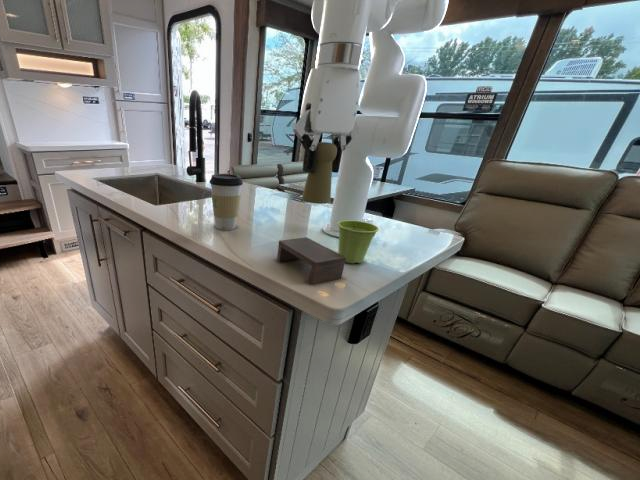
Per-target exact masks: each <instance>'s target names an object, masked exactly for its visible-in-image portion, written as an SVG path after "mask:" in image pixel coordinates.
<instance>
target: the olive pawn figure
mask: <svg viewBox="0 0 640 480" xmlns="http://www.w3.org/2000/svg"><path fill="white" fill-rule="evenodd" d="M315 151H318V155H317V161H316V168H315V172H314V173H308V172H307V176H306V179H305V180H306V181H305V185H304V187H303V188H304V189H303V190H302V191H303V192H302V196H301V201H303V202H306V203H310V204H318V205H321V204H322V205H323V204H325V205H326V204H330V203H331V196H332V177H333V172H332V161H333V160H334V159H335V157H336V155H337V147H336V145H334V144H332V142H326V141H320V142H319V141H318V144H317V146H316V149H315Z"/></svg>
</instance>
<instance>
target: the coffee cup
mask: <svg viewBox="0 0 640 480" xmlns="http://www.w3.org/2000/svg"><path fill="white" fill-rule="evenodd" d="M209 184H210V190H211V192H210V193H211V194H210V195H211V201H212V202H211V203H212V213H213V217H214V224H215V225H214V226H215V229H218V230H223V231H231V230H234V229H236V225H237V218H238V213H239V208H240V200H241V195H242V194H241V192H242V191H241V190H242V185H243V184H244V182H243V180H242V176H241V175H239V174H232V173H215V174H212V175H211V177H210V179H209Z"/></svg>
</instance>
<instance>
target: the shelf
mask: <svg viewBox="0 0 640 480" xmlns="http://www.w3.org/2000/svg"><path fill="white" fill-rule="evenodd" d="M276 256H277V257H276V261H277V262H279V263H281V262H288V261H294V260H295V261H296V260H301V261H303V262H304V263H305V264H308V265H309V266H310V273H309V279H308V283H309V284H310V285H318V284H323V283H326V282H332V281H337V280H341V279H342V277H343V273H344V268H345V264H346V262H345V260H346V257H344V256H342V255H340V254H338V252H336V251H334V250H332V249H330V248H328V247H326V246H325V245H322V244H320V243H319V242H317V241H316V240H313V239H311V238H309V237H307V236H304V237H297V238H289V239H282V240H278V246H277V255H276Z"/></svg>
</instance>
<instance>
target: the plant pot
mask: <svg viewBox="0 0 640 480" xmlns="http://www.w3.org/2000/svg"><path fill="white" fill-rule="evenodd" d="M338 226H339V237H338V247H337V248H338V249H337V253H338V254H340V255H342V256H344V257H346V260H345V263H348V264H355V263H357V264H361V263H363V261H364V259H365V257H366V255H367V253H368V251H369V248H370V246H371V243H372V240H373V238H374V237H375V235H376V233H377V232H379V231H380V227H379V226H377V225H375V224H374V223H372V224H370V223H366V222H361V221H352V220H345V221H340V222H338Z"/></svg>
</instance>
